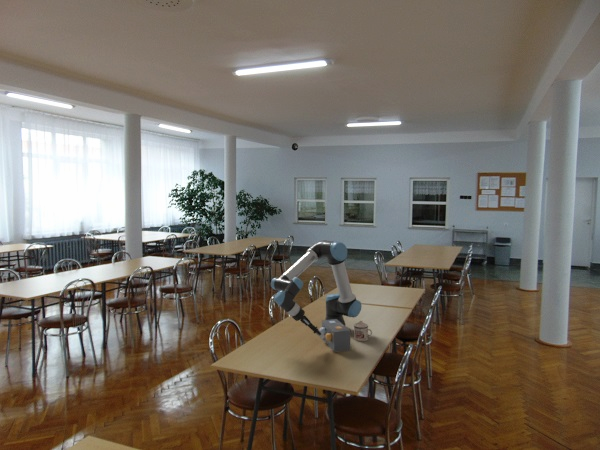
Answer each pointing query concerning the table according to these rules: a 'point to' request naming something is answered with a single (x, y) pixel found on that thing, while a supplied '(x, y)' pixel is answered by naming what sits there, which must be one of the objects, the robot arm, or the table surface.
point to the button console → (337, 335)
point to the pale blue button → (323, 330)
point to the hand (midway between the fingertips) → (323, 337)
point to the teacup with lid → (361, 331)
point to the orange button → (329, 337)
